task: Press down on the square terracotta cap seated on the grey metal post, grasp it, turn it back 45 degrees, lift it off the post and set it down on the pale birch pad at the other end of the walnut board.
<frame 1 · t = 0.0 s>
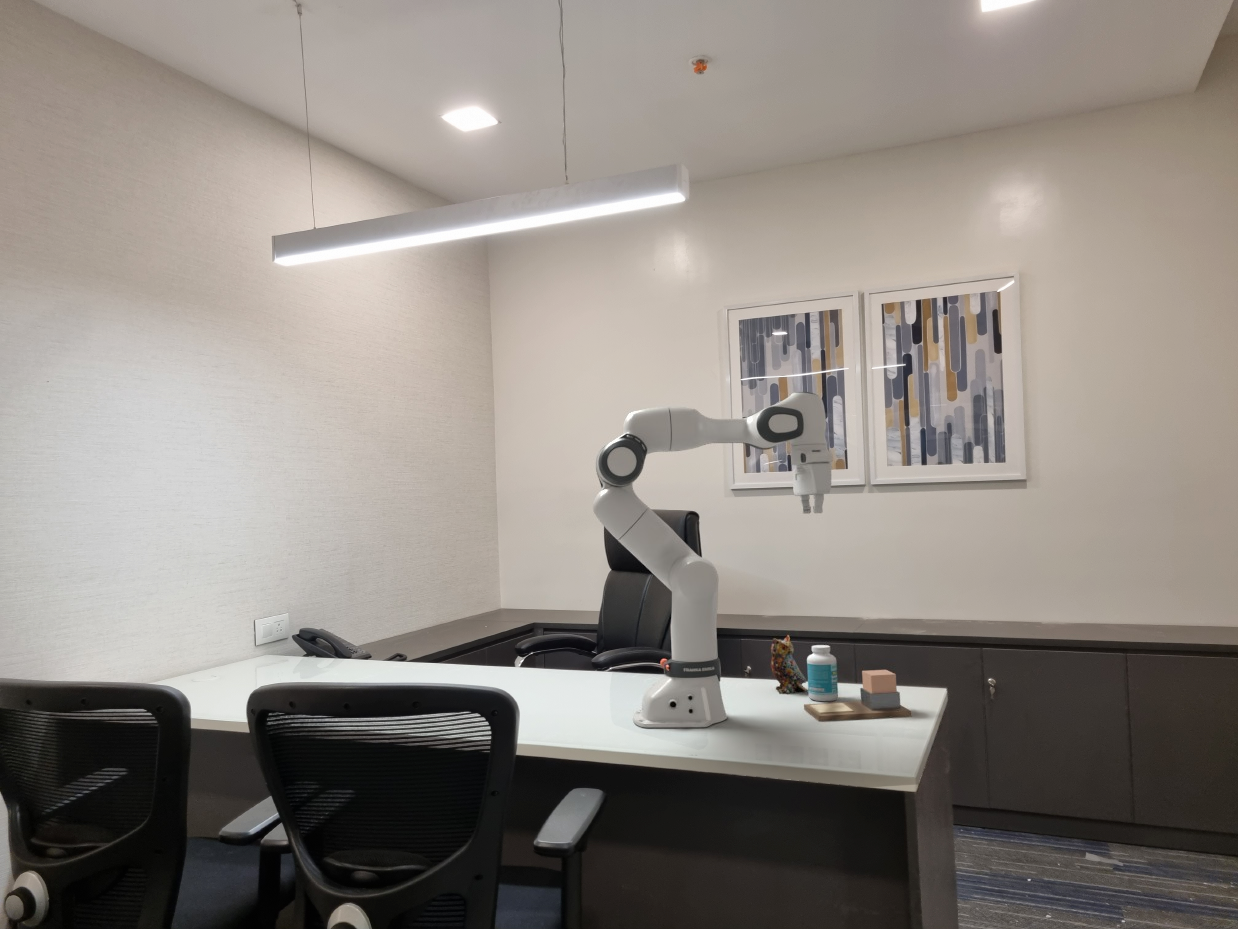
hand: (812, 513, 205), 48 cm above the table, fingers open, 8 cm apart
pill bottle: (823, 699, 215), on the table
board: (856, 712, 199), on the table
figurine: (789, 692, 226), on the table
cap: (879, 690, 200), point 5 cm above the table, touching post
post: (880, 711, 200), resting on board
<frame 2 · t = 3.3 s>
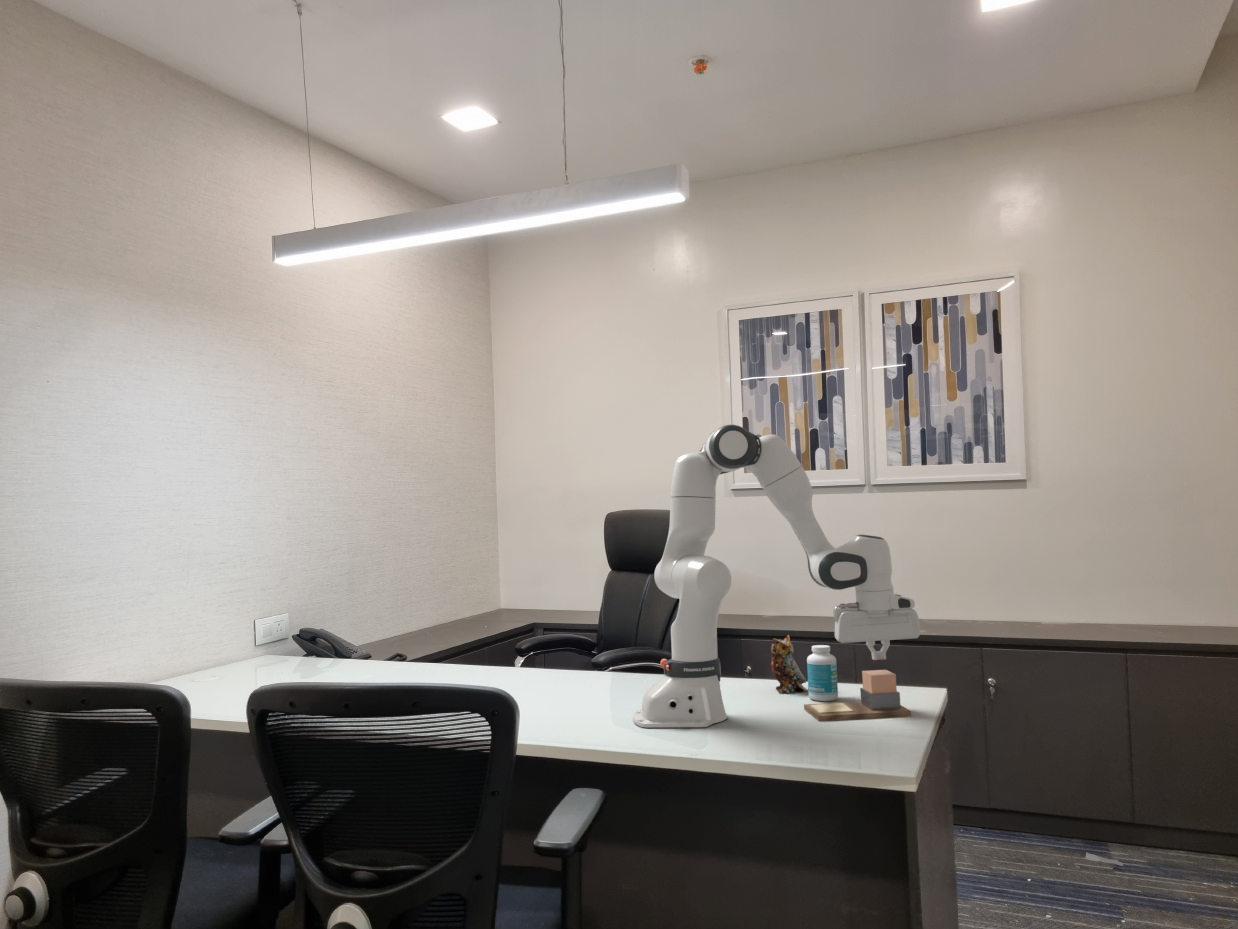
hand: (879, 659, 201), 12 cm above the table, fingers closed
nothing on the table moved.
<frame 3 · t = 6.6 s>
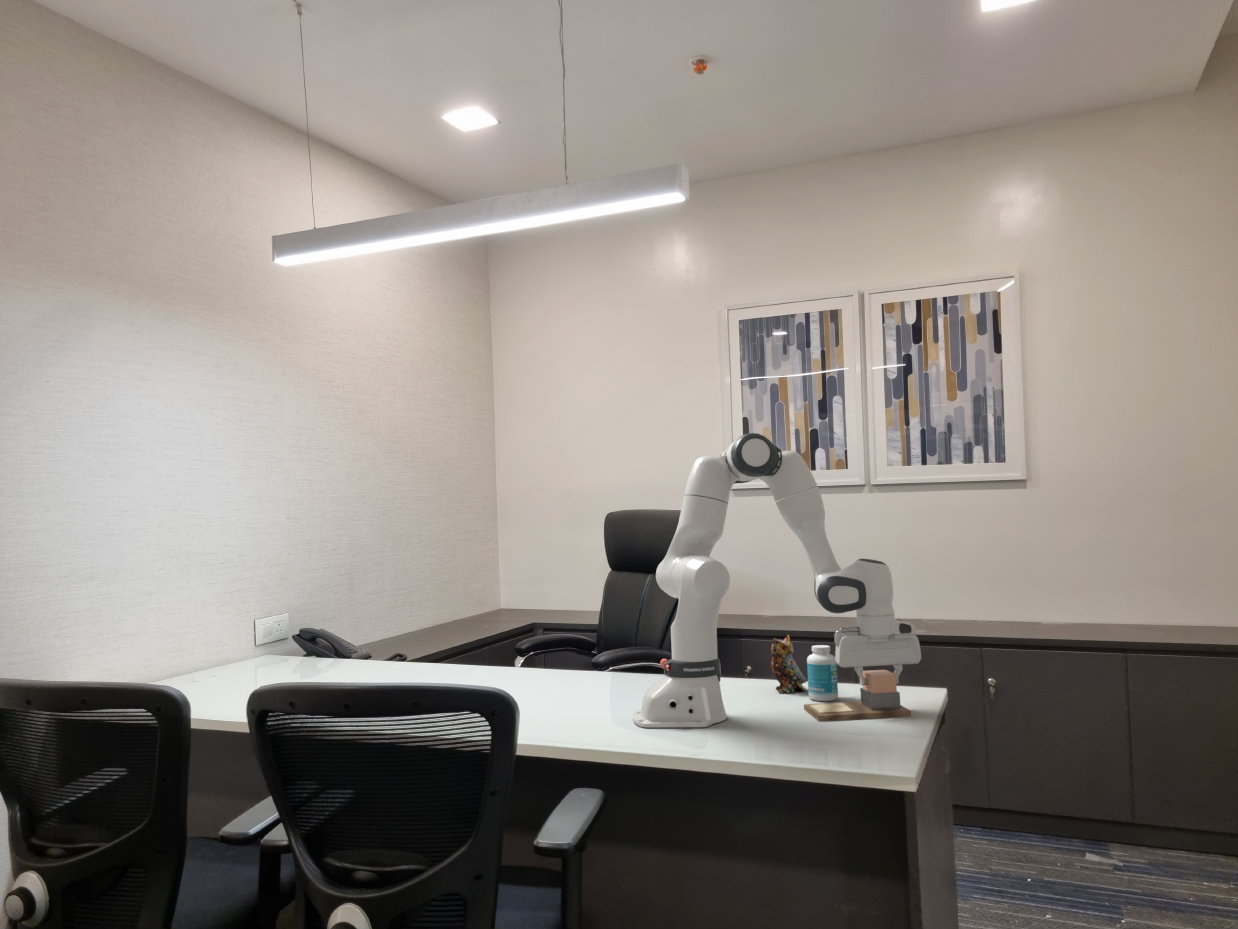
hand: (879, 684, 200), 6 cm above the table, fingers closed on cap, 6 cm apart
cap: (879, 690, 200), point 5 cm above the table, touching gripper, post
everything else where it was.
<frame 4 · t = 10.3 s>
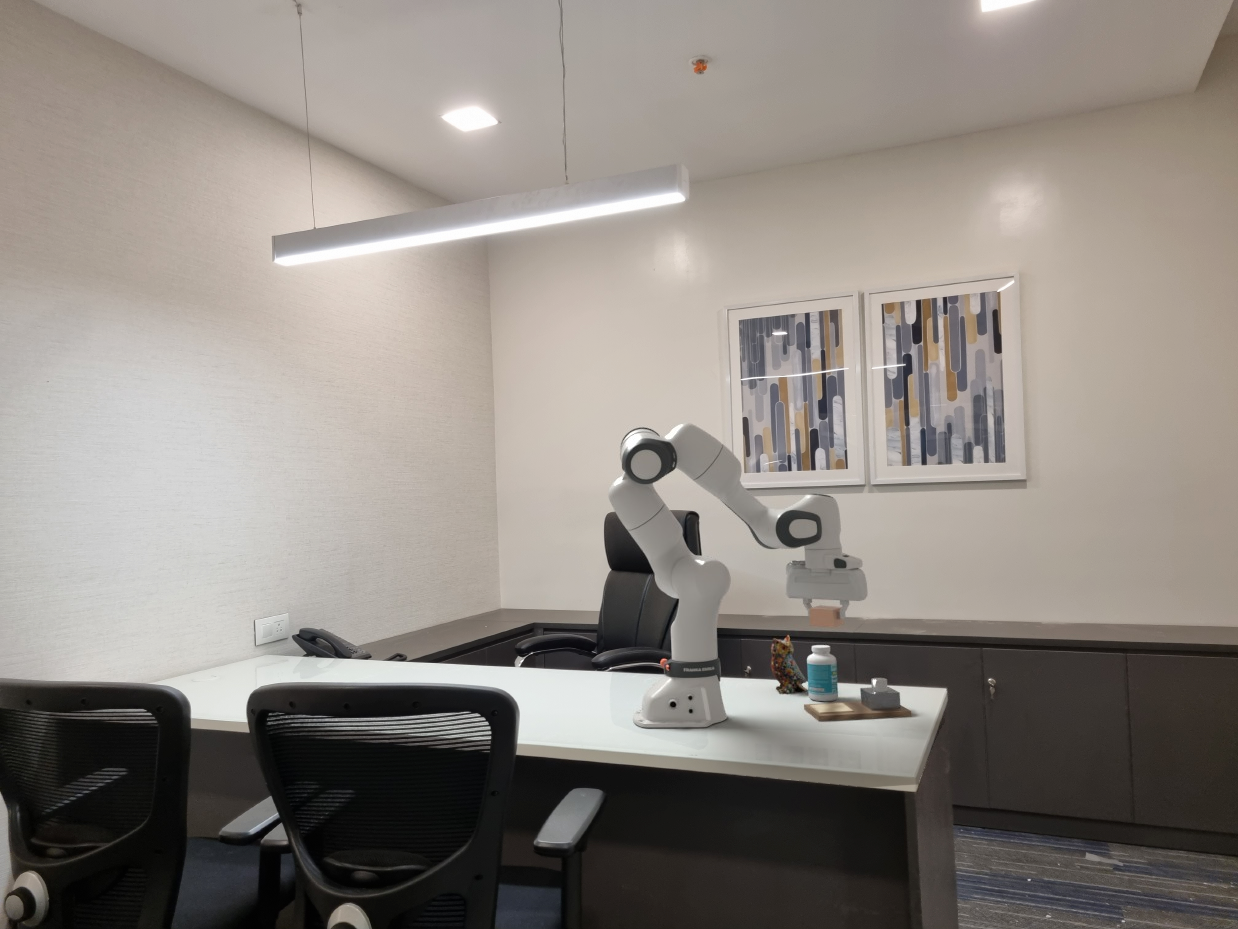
hand: (826, 618, 200), 23 cm above the table, fingers closed on cap, 6 cm apart
cap: (827, 625, 200), point 21 cm above the table, touching gripper
everything else where it was.
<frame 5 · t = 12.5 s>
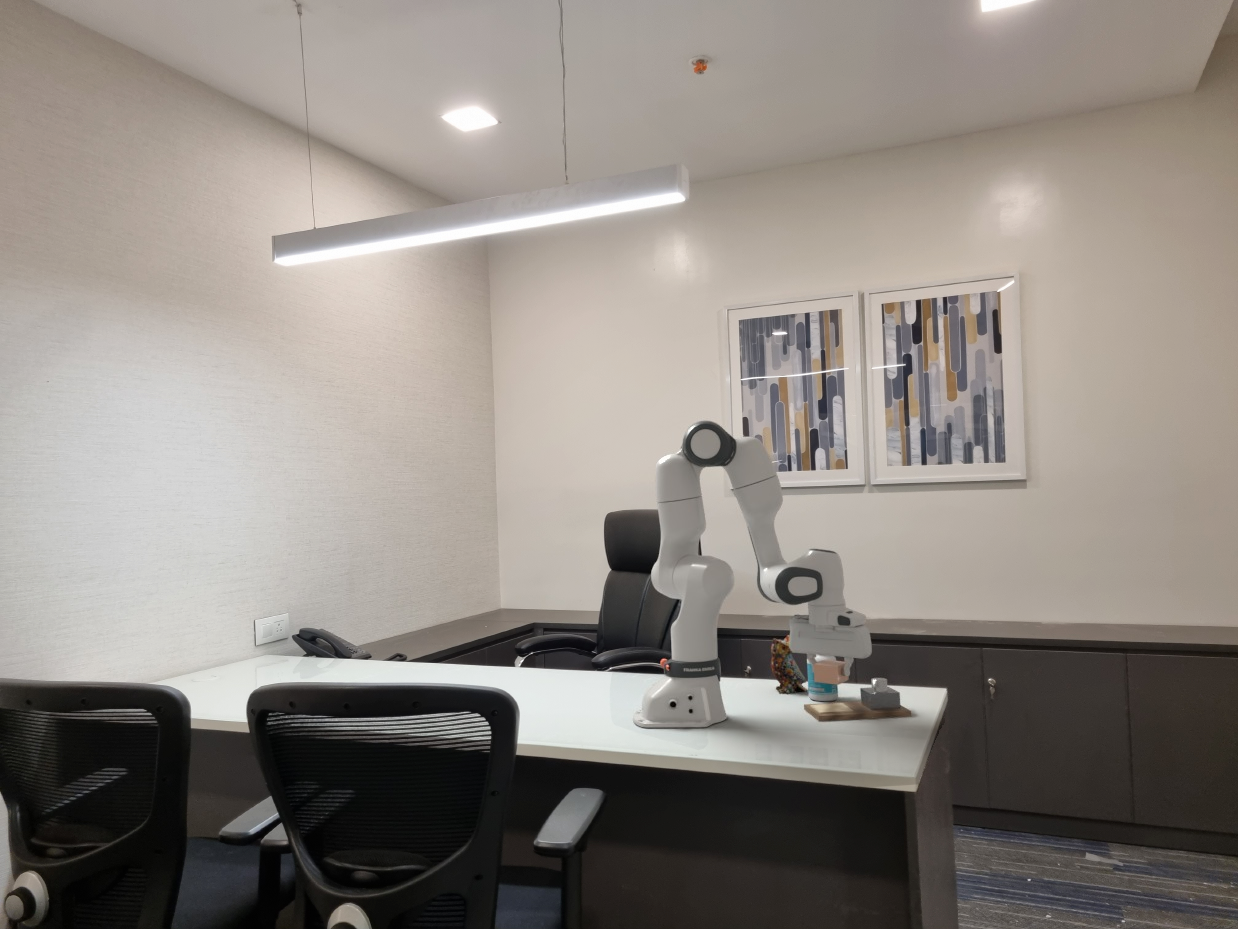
hand: (831, 674, 199), 9 cm above the table, fingers closed on cap, 6 cm apart
cap: (831, 680, 200), point 8 cm above the table, touching gripper
everything else where it was.
when the fingers open (4 cm above the table, at t = 14.2 s): cap stays where it is, resting on board.
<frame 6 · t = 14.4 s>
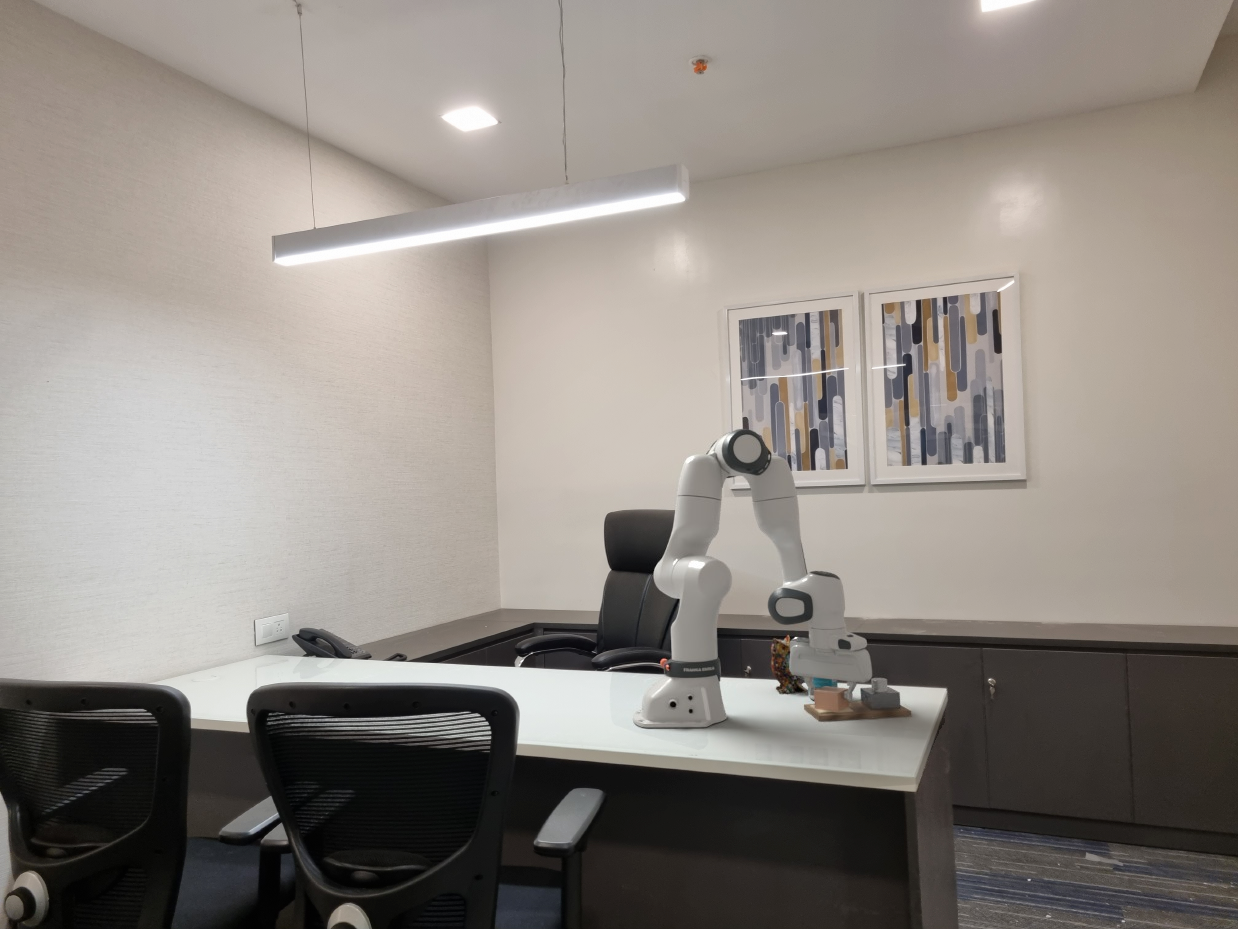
hand: (830, 697, 199), 4 cm above the table, fingers open, 8 cm apart
cap: (832, 707, 199), point 1 cm above the table, touching board
everything else where it was.
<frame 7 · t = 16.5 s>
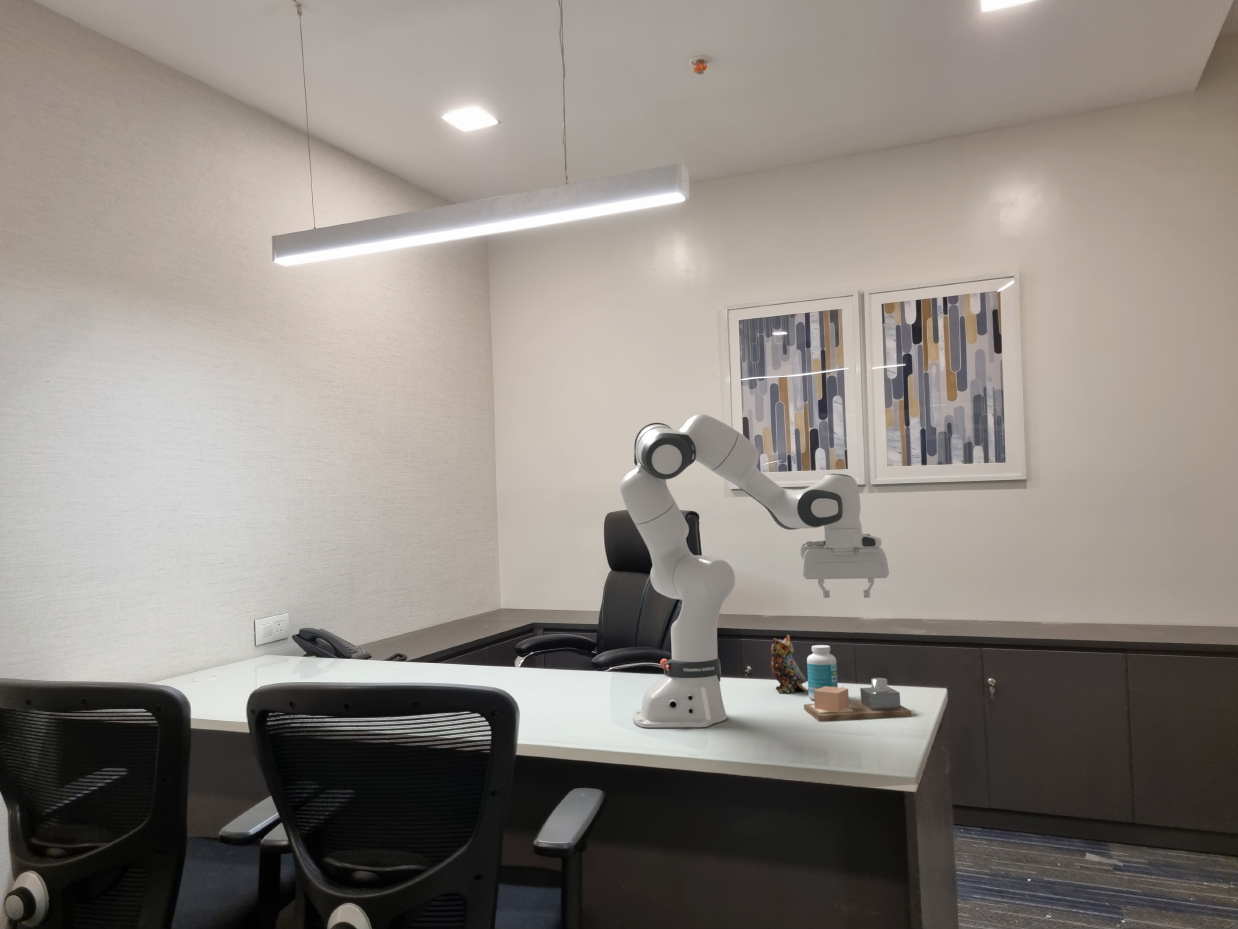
hand: (846, 597, 202), 27 cm above the table, fingers open, 8 cm apart
nothing on the table moved.
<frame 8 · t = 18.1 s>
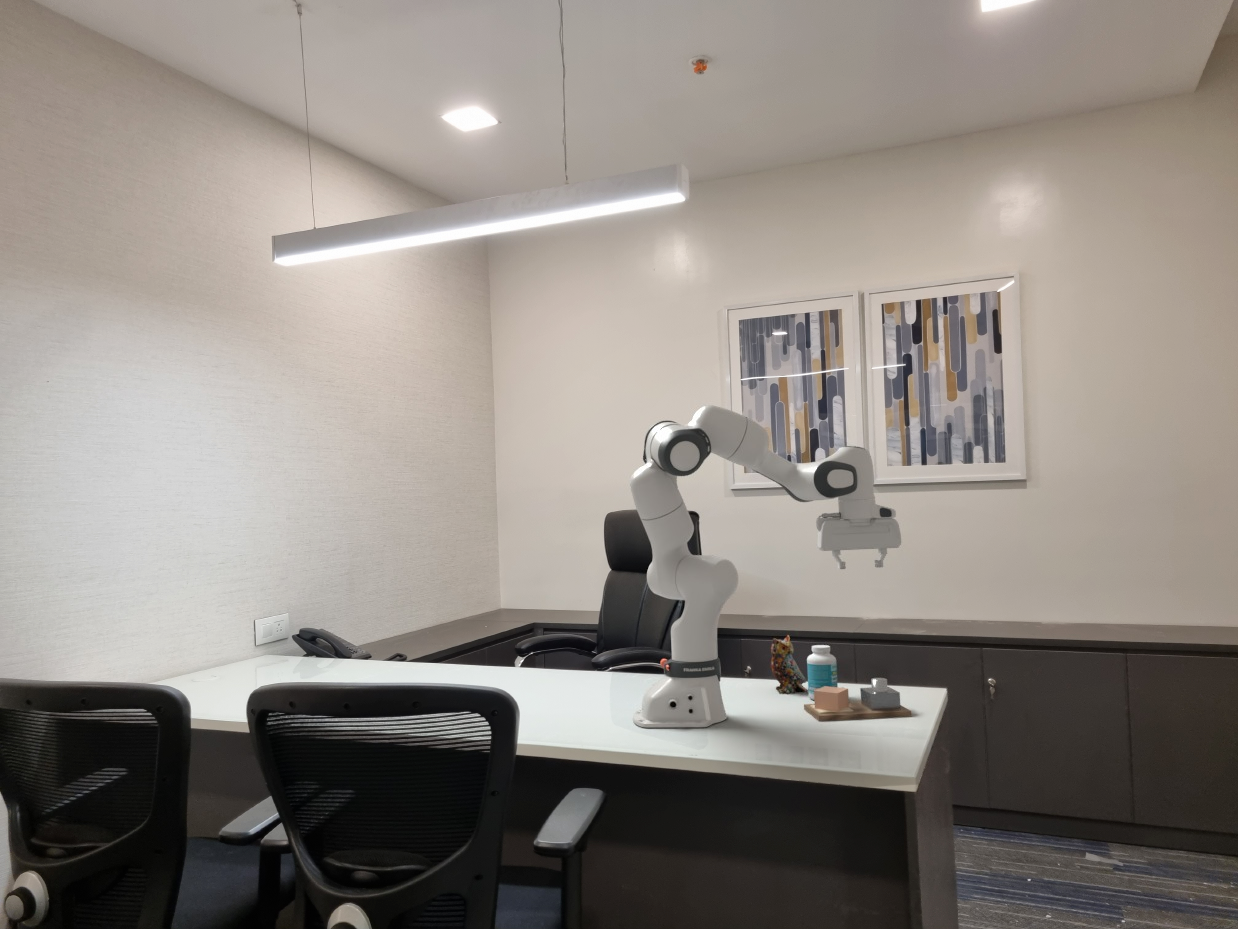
hand: (860, 568, 205), 34 cm above the table, fingers open, 8 cm apart
nothing on the table moved.
at the end: cap inside the target area (0.3 cm from its centre), point 1.5 cm above the table; cap tilted 0°; the gripper is holding nothing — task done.
